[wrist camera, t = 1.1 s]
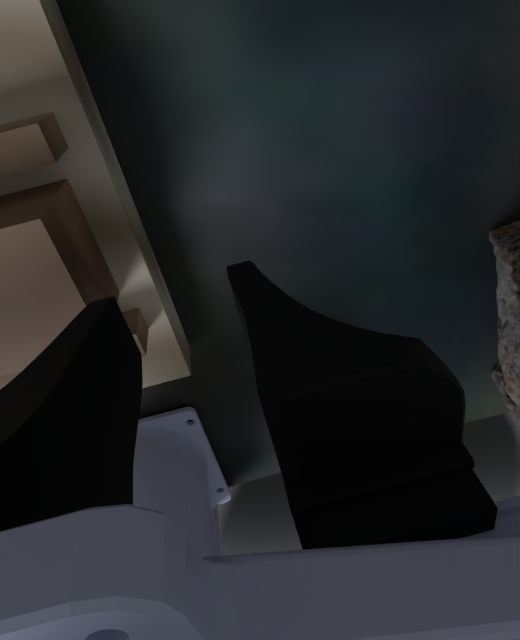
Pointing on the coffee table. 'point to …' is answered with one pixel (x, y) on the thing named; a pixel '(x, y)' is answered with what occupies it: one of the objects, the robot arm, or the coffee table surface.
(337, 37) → the coffee table surface
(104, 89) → the coffee table surface
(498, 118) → the coffee table surface
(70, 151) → the deck
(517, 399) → the geological specimen
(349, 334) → the robot arm
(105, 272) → the block
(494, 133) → the coffee table surface
